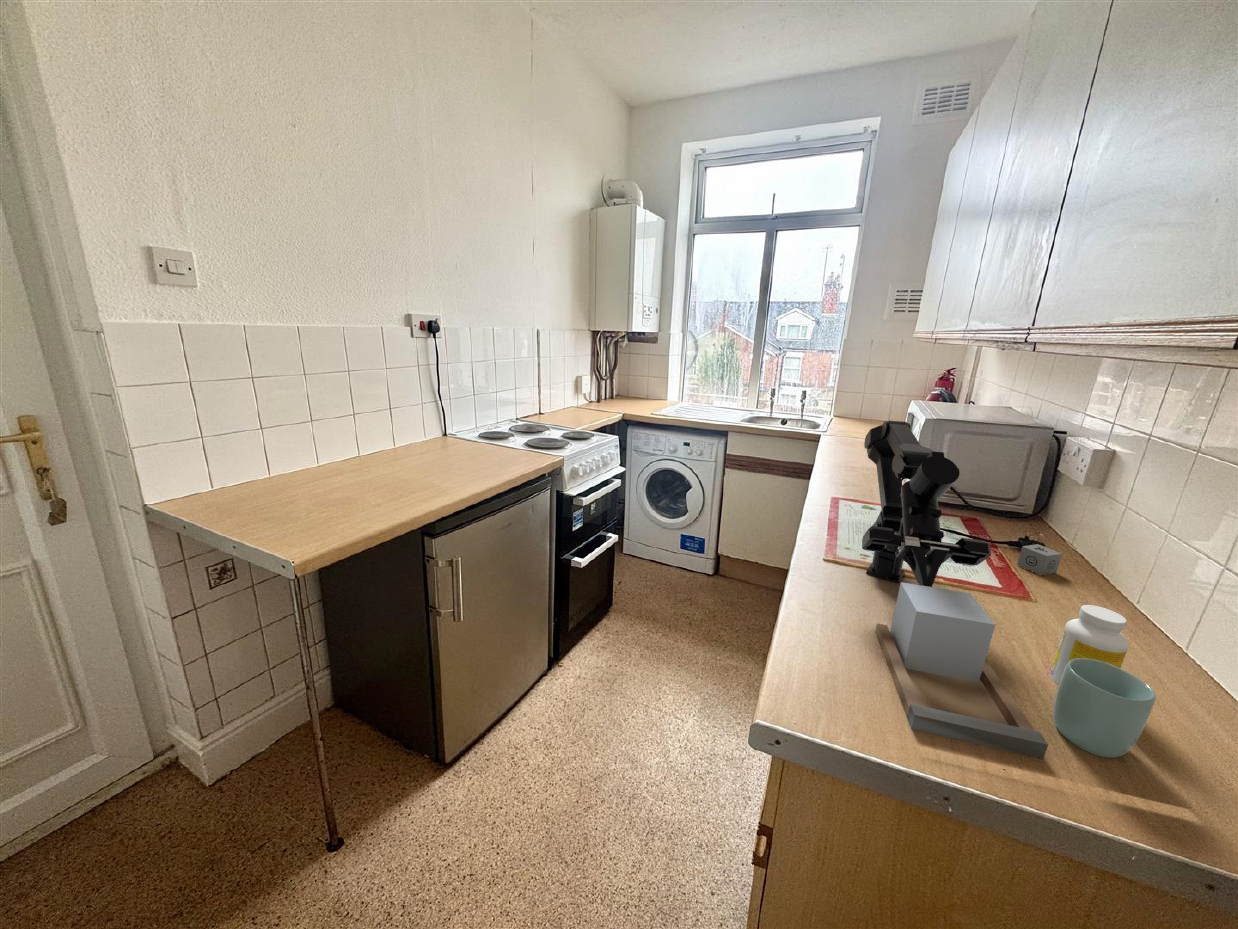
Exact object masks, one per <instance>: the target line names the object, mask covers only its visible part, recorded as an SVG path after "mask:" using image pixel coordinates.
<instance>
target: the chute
mask: <svg viewBox="0 0 1238 929" xmlns="http://www.w3.org/2000/svg"><path fill="white" fill-rule="evenodd" d="M874 633H875V635H876V638H877V642H878V643H879V646H880V650H881V651H882V654H883V656H884V660H885V663H886V665H887V667H888V670H889V673H890V676H891V678H892V682H893V683H894V686H895V689H896V692H897V695H898V696H899V700H900V702H901V706H902V708H903V712H904V714H905V716H906V719H907V722H908V724H909V726H910V729H911V730H914V731H918V732H924V733H927V734H932V735H936V736H940V737H945V738H949V739H954V740H957V741H962V742H965V743H966V742H967V743H970V744H975V745H979V746H984V747H987V748H991V749H992V748H993V749H996V750H1001V751H1006V752H1010V753H1013V754H1014V753H1015V754H1018V755H1019V754H1020V755H1023V756H1027V757H1032V758H1036V759H1041V760H1044V759H1045V755H1046V753H1047V749H1048V747H1049V744H1048V742H1047V740H1046V739H1045V738H1044V736H1043V734H1041V731H1038V730H1035V729H1034V727H1033V726H1032V724H1031V723H1030V721H1029V720H1028V719H1027V717H1026V715H1025V714H1024V713H1023V711H1022V710H1021V708H1020V706H1018V704H1017V702H1016V700H1014V697H1013V696H1012V695H1011V694H1010V692H1009V691H1008V689H1007V688H1006V686H1005V685H1004V684H1003V682H1002V681H1001V679H1000V677H999V676H998V674H997V673H996V671H995V670H994V669H993V667H992V666H991V664H990V663H989V661H988V660H987V659H985V663H984V666H983V670H982V673H981V677H980V680H979V683H976V682H971V681H966V680H961V679H956V678H951V677H946V676H941V675H936V674H931V673H926V672H921V671H916V670H911V669H906V668H905V667H904V664H903V662H902V659H901V657H900V655H899V652H898V650H897V648H896V645H895V643H894V640H893V638H892V636H891V633H890V628H889V626H888V625H887V624H882V623H876V627H875V631H874Z"/></svg>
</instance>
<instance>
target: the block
mask: <svg viewBox="0 0 1238 929" xmlns="http://www.w3.org/2000/svg"><path fill="white" fill-rule="evenodd" d="M995 626H996V624H995V622H994V621H993V620H992V618H991V617H990V616H989V614H988V613H986V611H985V610H984V609H983V607H982V606H981V604H980V603H979V602H978V601H977V599H976V598H975V597H974V596H973V595H972V593H971V592H966V591H959V590H955V589H947V588H946V589H945V588H941V587H934V586H932V587H928V586H922V585H919V584H915V583H907V582H903V581H900V584H899V589H898V594H897V597H896V604H895V607H894V611H893V617H892V621H891V627H890V629H889V631H890V633H891V636H892V638H893V640H894V643H895V645H896V648H897V650H898V652H899V655H900V657H901V659H902V662H903V664H904V667H905V668H906V669H911V670H916V671H921V672H926V673H931V674H936V675H941V676H946V677H951V678H956V679H961V680H966V681H971V682H976V683H979V680H980V677H981V673H982V670H983V666H984V663H985V659H986V658H987V656H988V651H989V648H990V645H991V640H992V638H993V634H994V632H995ZM986 660H987V659H986Z"/></svg>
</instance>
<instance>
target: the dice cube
mask: <svg viewBox="0 0 1238 929" xmlns="http://www.w3.org/2000/svg"><path fill="white" fill-rule="evenodd" d="M1062 556H1063V553H1061V552H1059V551H1057V550H1053V549H1051V548H1048V547H1046V546H1043V545H1041V544H1030V545H1022V547H1021V550H1020V553H1019V558H1018V559H1017V560H1018V561H1017V563H1016V564H1017V565H1019V566H1021V567H1024V568H1025V569H1024V570H1026V569H1027V570H1026V571H1028V570H1031V571H1033V572H1034V573H1033V572H1032V573H1033V574H1035V573H1036V574H1035V575H1037V574H1039V575H1044V576H1047V575H1046V574H1050V575H1053V574H1052V573H1056V574H1057V571H1058V569H1059V565H1060V562H1061V560H1062ZM1017 565H1016V566H1017ZM1019 566H1018V567H1019ZM1021 567H1020V568H1021ZM1039 575H1038V576H1039Z"/></svg>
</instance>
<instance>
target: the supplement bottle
mask: <svg viewBox="0 0 1238 929" xmlns="http://www.w3.org/2000/svg"><path fill="white" fill-rule="evenodd" d="M1078 614H1079V618H1073V619H1070V620H1069V621H1067V622H1066V624H1065V626H1064V629H1063V632H1062V634H1061V638H1060V640H1059V641H1060V642H1059V644H1058V648H1057V650H1056V654H1055V655H1054V656H1055V657H1054V660H1053V662H1052V666H1051V669H1050V672H1049V675H1050V678H1051V679H1052V681H1053V682H1054V683H1056V685H1058V686H1059V684H1060V681H1061V678H1062V675H1063V672H1064V669H1065V667H1066V665H1067V663H1068V662H1069V661H1070V660H1073V659H1077V658H1087V659H1094V660H1098V661H1102V662H1105V663H1108V664H1111V665H1113V666H1116V667H1118V668H1120V669H1122V665H1123V663H1124V660H1125V657H1126V655H1127V653H1128V649H1129V647H1130V646H1129V642H1128V639H1127V638H1126V637H1125V635H1124V634H1123V633H1121V632H1122V631H1123V630H1124V629H1125V628H1126V624H1127V619H1126V618H1125V617H1124V616H1123V615H1121V613H1118V612H1115V611H1114V610H1111V609H1108V608H1105V607H1102V606H1098V605H1093V604H1083V605H1082V606H1081V607H1080V609H1079V612H1078Z"/></svg>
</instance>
